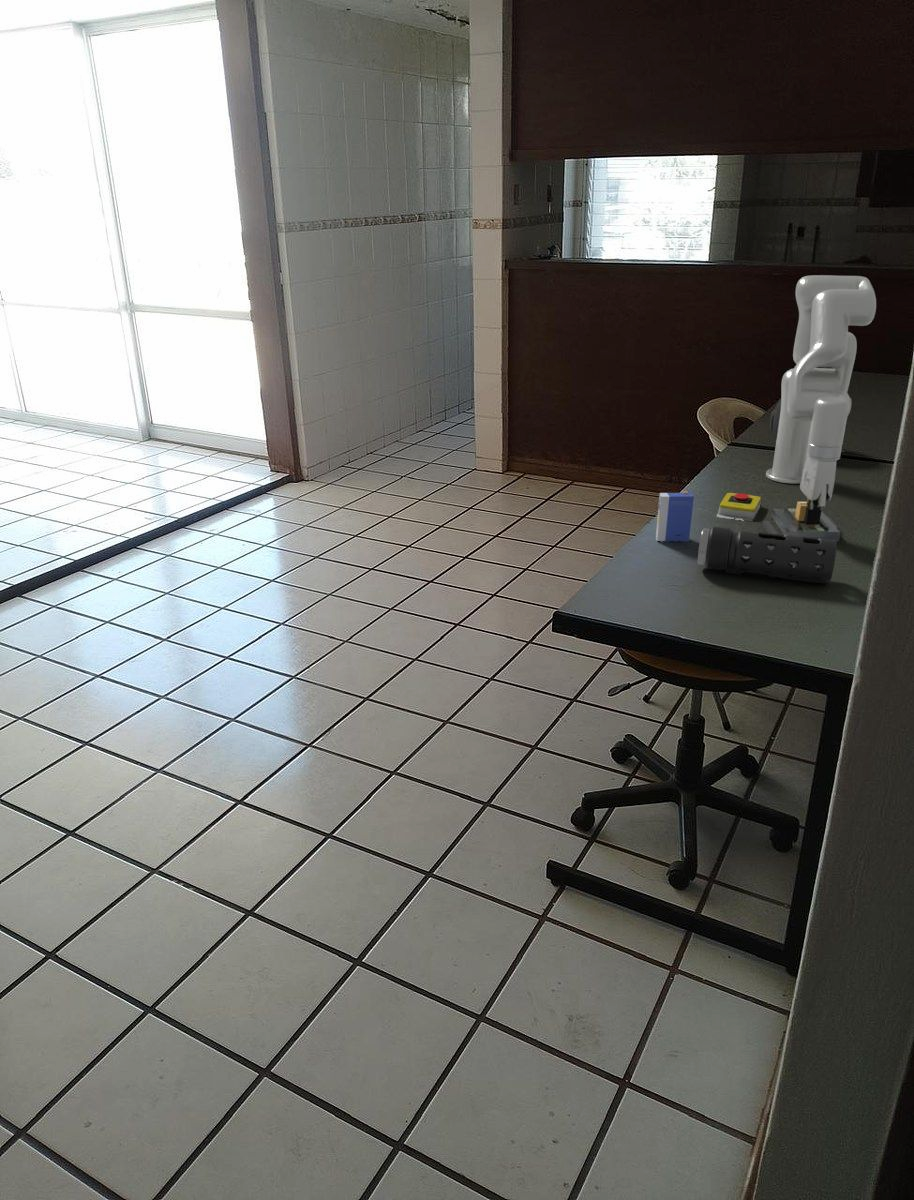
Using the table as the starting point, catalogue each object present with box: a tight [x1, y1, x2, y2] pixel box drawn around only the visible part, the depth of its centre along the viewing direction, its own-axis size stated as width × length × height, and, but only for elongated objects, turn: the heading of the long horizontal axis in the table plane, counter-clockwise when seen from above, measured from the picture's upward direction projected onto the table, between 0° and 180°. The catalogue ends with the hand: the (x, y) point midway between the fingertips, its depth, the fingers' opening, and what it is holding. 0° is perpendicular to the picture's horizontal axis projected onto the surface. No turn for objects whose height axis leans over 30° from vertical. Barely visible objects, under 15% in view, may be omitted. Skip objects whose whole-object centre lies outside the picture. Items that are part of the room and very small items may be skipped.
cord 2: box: [826, 515, 840, 530], centre depth 227 cm, size 8×1×1 cm, turn 177°
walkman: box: [655, 491, 694, 543], centre depth 218 cm, size 8×3×12 cm, turn 89°
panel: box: [771, 508, 841, 543], centre depth 225 cm, size 16×12×3 cm
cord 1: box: [762, 520, 779, 534], centre depth 222 cm, size 14×1×1 cm, turn 177°
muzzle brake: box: [697, 525, 837, 585], centre depth 199 cm, size 10×28×10 cm, turn 71°
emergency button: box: [716, 492, 762, 522], centre depth 238 cm, size 9×4×15 cm
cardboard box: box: [795, 501, 807, 521], centre depth 224 cm, size 3×4×4 cm
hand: (811, 523), depth 221 cm, fingers closed
